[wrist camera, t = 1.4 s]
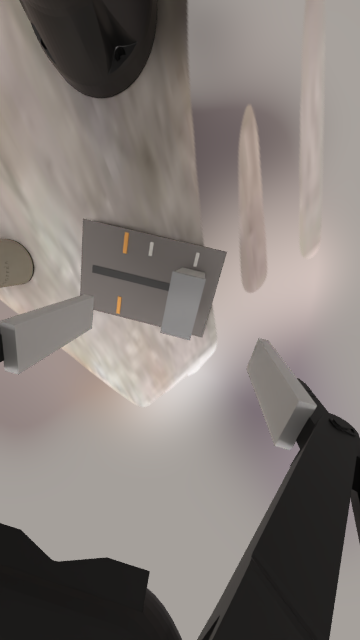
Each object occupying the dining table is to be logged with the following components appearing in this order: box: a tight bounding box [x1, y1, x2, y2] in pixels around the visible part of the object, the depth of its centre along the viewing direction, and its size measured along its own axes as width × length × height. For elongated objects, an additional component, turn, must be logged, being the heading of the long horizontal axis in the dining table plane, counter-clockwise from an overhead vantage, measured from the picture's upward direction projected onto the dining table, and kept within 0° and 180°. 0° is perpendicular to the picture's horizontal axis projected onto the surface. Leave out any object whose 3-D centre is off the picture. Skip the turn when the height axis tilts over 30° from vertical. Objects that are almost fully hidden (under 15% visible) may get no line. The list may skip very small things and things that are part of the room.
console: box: [80, 219, 227, 337], centre depth 32 cm, size 22×14×3 cm, turn 78°
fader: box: [160, 267, 206, 340], centre depth 25 cm, size 4×7×9 cm, turn 168°
